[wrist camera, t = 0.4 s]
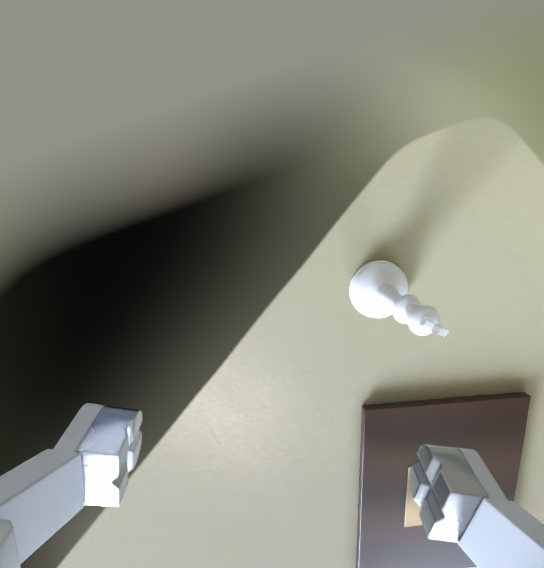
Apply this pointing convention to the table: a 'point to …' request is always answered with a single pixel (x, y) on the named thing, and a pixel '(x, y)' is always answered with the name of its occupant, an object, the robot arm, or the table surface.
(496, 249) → the table surface
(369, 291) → the chess piece
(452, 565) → the board
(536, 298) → the table surface
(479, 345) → the table surface
